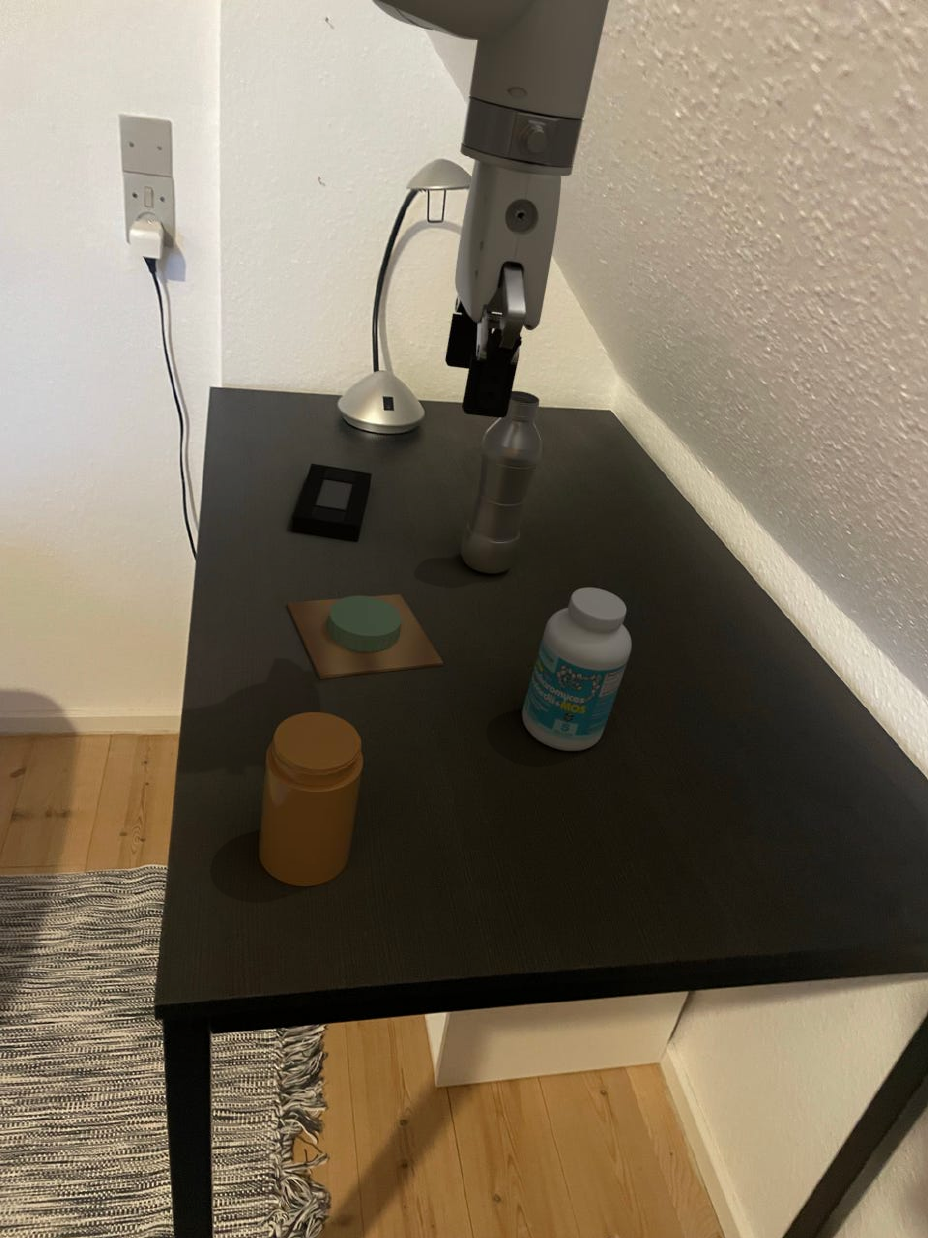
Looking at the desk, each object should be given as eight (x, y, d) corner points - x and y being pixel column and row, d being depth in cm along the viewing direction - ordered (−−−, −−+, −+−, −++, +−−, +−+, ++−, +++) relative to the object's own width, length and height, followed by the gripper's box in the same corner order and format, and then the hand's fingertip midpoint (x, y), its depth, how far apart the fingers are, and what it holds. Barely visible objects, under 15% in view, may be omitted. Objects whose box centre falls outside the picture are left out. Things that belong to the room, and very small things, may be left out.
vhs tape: (370, 487, 118) (372, 473, 117) (358, 542, 106) (360, 526, 105) (310, 478, 118) (311, 463, 117) (291, 531, 106) (292, 515, 105)
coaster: (319, 679, 84) (320, 675, 84) (286, 605, 93) (286, 602, 93) (442, 665, 89) (443, 662, 89) (400, 597, 98) (400, 593, 98)
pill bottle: (503, 721, 84) (536, 593, 77) (553, 691, 89) (588, 569, 82) (569, 767, 80) (610, 638, 73) (617, 733, 85) (659, 609, 78)
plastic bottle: (445, 561, 106) (477, 391, 95) (482, 545, 111) (517, 381, 100) (489, 587, 103) (527, 414, 92) (525, 569, 108) (566, 403, 97)
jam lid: (402, 617, 94) (405, 601, 93) (396, 657, 88) (398, 641, 87) (332, 606, 94) (334, 590, 93) (321, 645, 88) (323, 629, 87)
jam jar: (260, 889, 64) (270, 774, 58) (256, 820, 69) (264, 708, 64) (354, 883, 66) (372, 771, 60) (343, 817, 71) (359, 707, 65)
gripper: (609, 171, 55) (545, 441, 65) (547, 130, 70) (502, 357, 79) (485, 149, 54) (437, 429, 63) (447, 112, 68) (413, 345, 77)
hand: (473, 389), depth 71 cm, fingers open, 9 cm apart
